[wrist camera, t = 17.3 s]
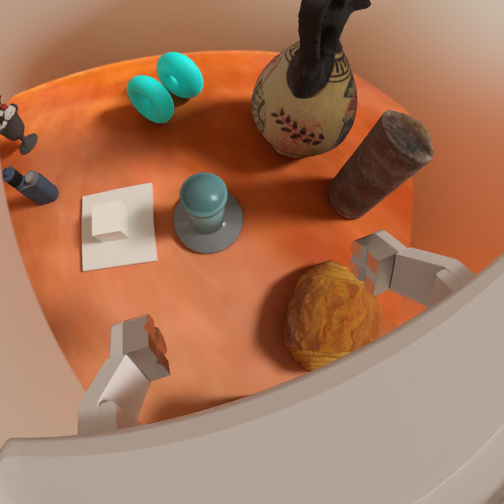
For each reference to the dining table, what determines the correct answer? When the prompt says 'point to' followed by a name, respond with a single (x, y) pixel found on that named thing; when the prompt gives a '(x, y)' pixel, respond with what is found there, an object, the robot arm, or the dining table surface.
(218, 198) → the teal domed cylinder
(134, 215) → the white cube on base
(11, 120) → the sundae
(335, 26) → the ceramic jug
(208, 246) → the dish
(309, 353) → the brown oval lump
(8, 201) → the dining table surface
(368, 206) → the brown tall cylinder
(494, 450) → the robot arm
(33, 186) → the vaping device
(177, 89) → the donuts
